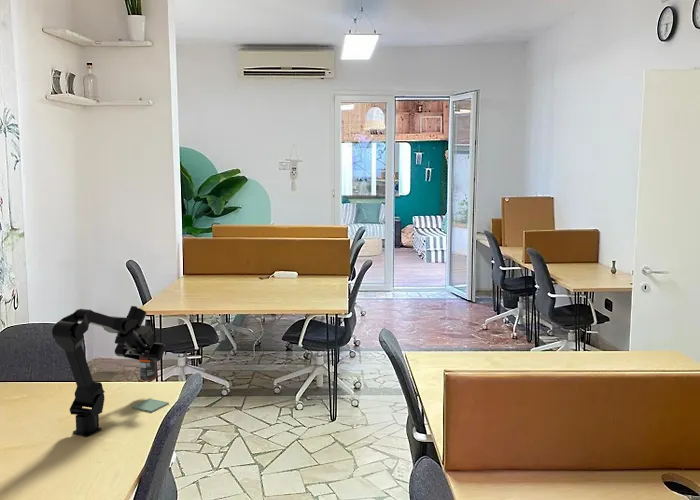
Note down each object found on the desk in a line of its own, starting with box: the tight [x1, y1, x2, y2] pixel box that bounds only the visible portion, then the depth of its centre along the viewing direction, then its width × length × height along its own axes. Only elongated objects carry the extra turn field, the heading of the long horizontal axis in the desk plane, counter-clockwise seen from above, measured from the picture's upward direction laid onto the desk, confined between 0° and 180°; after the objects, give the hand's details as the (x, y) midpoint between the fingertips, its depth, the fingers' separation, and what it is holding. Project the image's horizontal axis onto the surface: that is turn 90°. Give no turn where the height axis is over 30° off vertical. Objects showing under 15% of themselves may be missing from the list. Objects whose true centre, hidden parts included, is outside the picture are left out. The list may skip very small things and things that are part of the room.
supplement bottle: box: [138, 352, 158, 382], centre depth 238 cm, size 6×6×11 cm
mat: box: [131, 398, 170, 414], centre depth 230 cm, size 9×9×1 cm
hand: (149, 360), depth 240 cm, fingers closed on supplement bottle, 6 cm apart
